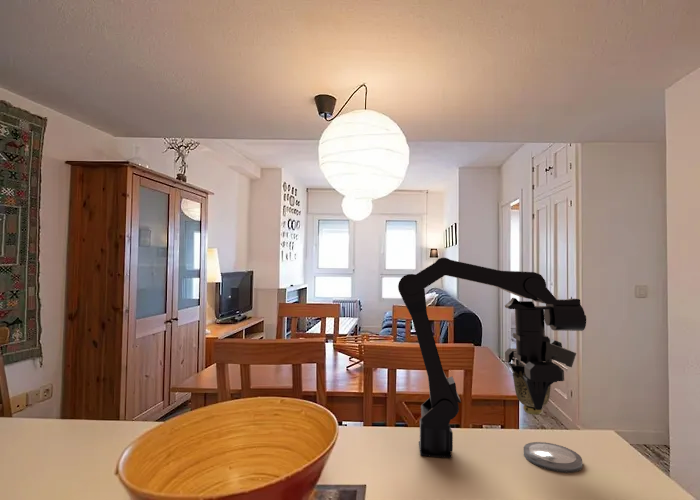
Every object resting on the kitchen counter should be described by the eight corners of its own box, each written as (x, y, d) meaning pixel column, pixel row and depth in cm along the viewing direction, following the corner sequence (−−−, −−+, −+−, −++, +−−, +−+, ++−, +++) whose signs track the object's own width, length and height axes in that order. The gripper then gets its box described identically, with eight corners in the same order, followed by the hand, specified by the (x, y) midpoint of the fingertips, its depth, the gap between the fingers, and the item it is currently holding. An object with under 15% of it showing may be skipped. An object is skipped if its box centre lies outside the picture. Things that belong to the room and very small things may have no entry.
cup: (557, 420, 76) (555, 380, 77) (518, 418, 78) (517, 378, 78) (546, 408, 84) (545, 371, 84) (510, 406, 85) (509, 369, 86)
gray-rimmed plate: (534, 470, 76) (534, 463, 76) (516, 445, 87) (516, 440, 87) (593, 474, 74) (592, 467, 74) (567, 449, 85) (567, 443, 85)
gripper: (591, 337, 72) (595, 422, 71) (552, 325, 90) (555, 392, 89) (529, 336, 73) (532, 419, 72) (503, 324, 92) (505, 390, 90)
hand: (532, 404), depth 81 cm, fingers closed on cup, 6 cm apart
